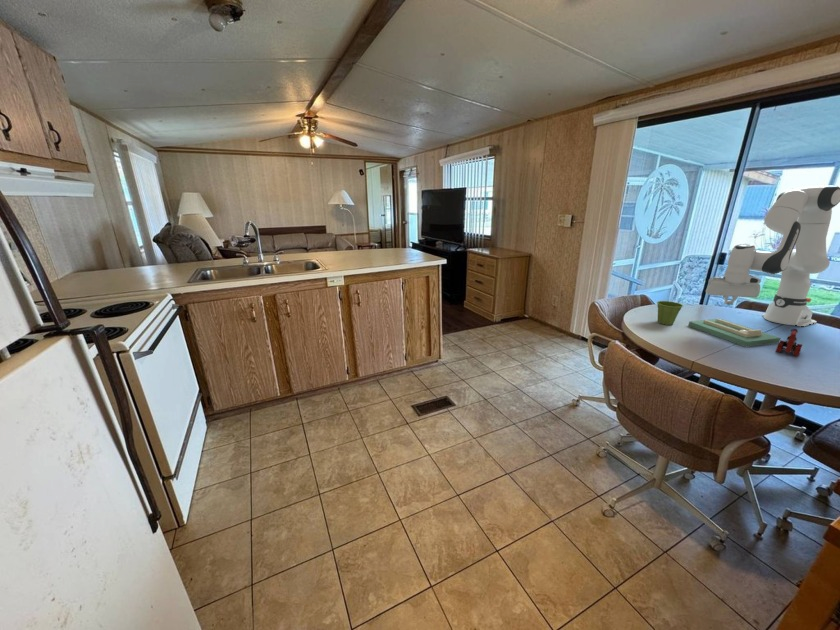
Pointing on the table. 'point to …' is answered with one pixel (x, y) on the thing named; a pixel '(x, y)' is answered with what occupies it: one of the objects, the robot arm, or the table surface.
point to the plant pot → (668, 311)
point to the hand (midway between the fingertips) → (728, 304)
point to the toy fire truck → (790, 344)
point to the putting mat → (734, 332)
